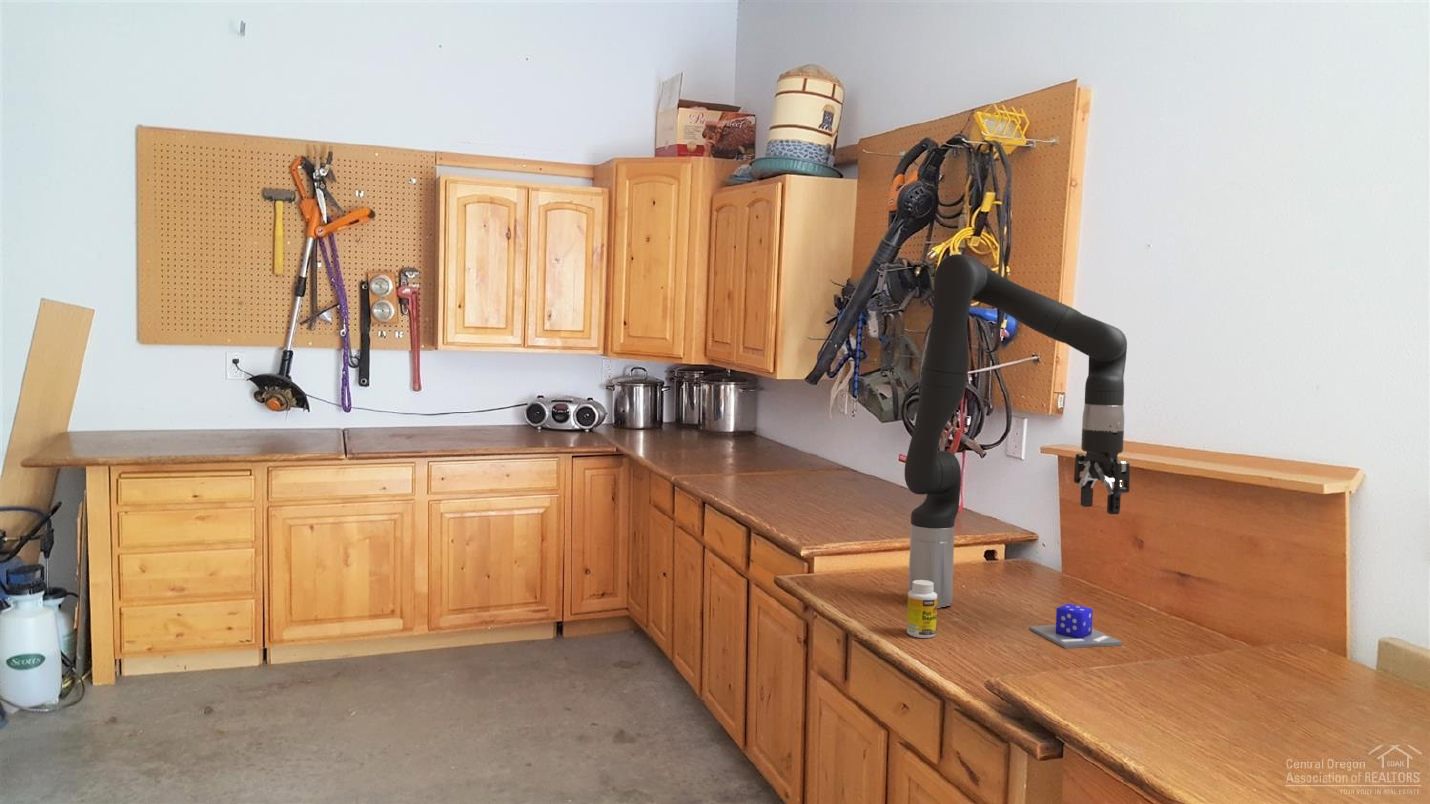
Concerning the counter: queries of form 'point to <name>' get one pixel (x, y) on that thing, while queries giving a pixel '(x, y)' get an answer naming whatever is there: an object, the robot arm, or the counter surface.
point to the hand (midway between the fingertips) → (1099, 510)
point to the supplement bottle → (922, 609)
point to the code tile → (1071, 642)
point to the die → (1074, 621)
